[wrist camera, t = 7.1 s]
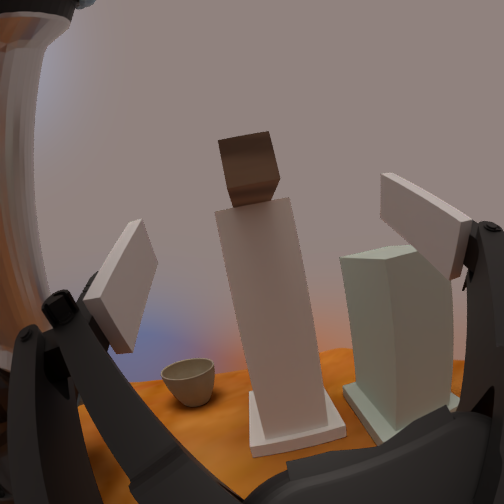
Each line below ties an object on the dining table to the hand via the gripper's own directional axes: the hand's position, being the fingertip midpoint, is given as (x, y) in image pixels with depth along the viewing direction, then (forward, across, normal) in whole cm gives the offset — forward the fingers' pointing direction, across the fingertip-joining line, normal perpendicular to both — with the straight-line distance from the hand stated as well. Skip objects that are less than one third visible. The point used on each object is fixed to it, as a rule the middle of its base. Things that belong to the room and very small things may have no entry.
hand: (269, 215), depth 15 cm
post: (+1, +15, -31) cm, 35 cm away
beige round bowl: (+15, -16, -40) cm, 46 cm away
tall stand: (+6, 0, -34) cm, 35 cm away
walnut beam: (+17, 0, -6) cm, 18 cm away
